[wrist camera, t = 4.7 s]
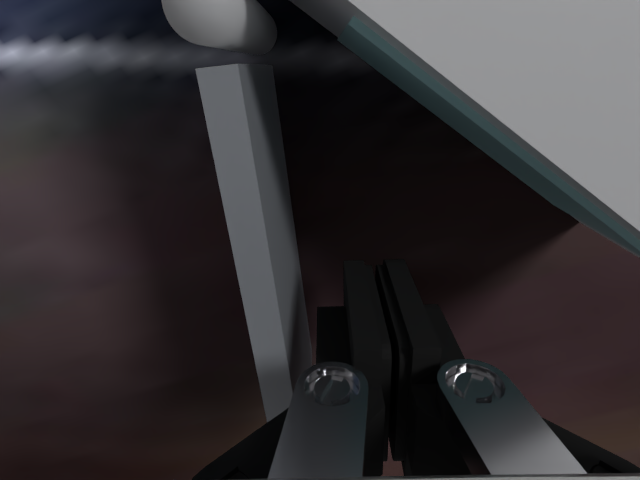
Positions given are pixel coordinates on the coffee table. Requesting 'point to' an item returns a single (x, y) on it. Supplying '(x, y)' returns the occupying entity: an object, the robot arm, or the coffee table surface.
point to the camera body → (521, 88)
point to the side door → (252, 186)
